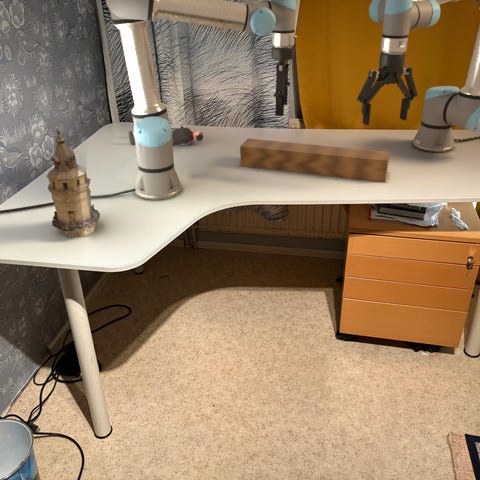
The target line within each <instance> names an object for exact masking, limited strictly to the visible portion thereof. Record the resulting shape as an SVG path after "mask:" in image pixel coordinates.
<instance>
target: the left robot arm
mask: <svg viewBox="0 0 480 480" xmlns="http://www.w3.org/2000/svg"><path fill="white" fill-rule="evenodd" d="M105 3H106V5H107V8H108V9H109V13H110V17H111V22H112V25H113V26H114V27H116V28H117V29H118V31H119V36H120V40H121V46H122V52H123V55H124V59H125V65H126V69H127V74H128V80H129V85H130V89H131V92H132V98H133V103H134V106H133V107H132V109H131V117H132V120H133V121H132V122H133V134H134V137H135V143H134V144H135V153H136V161H137V175H136V179H135V184H134V188H132V189H126V190H122V191H119V192H118V191H117V192H115V193H110V194H109V193H108V194H97V195H90V197H91V199H101V198H103V199H104V198H111V197H116V196H117V197H118V196H120V195H123V194H128V193H132V192H133V193H135V195H136V196H137V197H138V198H141V199H143V200H148V201H161V200H168V199H171V198H174V197H176V196H178V195H179V194H180V193H181V192H182V183H181V180H180V177H179V176H178V173H177V171H176V169H175V161H174V160H175V159H174V158H175V157H174V146H173V145H172V129H171V128H172V125H171V123H170V120H169V114H168V109H167V105H166V104H165V103H163V102H162V101H161V97H160V96H161V95H160V91H159V85H158V80H157V75H156V69H155V63H154V58H153V53H152V47H151V46H152V45H151V41H150V37H149V31H148V23H150V22H154V21H155V20H156V19H160V20H167V21H175V22H181V23H188V24H194V25H199V26H200V25H201V26H206V27H207V26H208V27H214V28H220V29H226V30H227V29H228V30H232V31H240V32H245V33H251V34H255V35H257V36H261V37H265V36H268V35H270V34H271V42H270V43H271V45H272V46H271V52H270V53H271V54H270V55H271V59H273V60H277V61H278V62H277V63H276V65H275V69H276V73H275V79H276V80H275V92H274V93H273V98H275V115H274V116H275V117H284V116H285V106H288V96H289V95H288V93H289V87H290V86H291V82H289V81H290V80H289V69H290V63H289V60H293V59H294V58H295V46H294V45H295V44H296V43H295V39H297V35H296V17H297V16H296V15H297V14H296V13H297V1H296V0H270V1H244V2H236V1H231V0H105ZM49 206H55V205H54V201H53V202H47V203H41V204H40V203H39V204H33V205H27V206H22V207H15V208H8V209H2V210H0V214H4V213H11V212H19V211H24V210H30V209H37V208H42V207H49Z"/></svg>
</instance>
